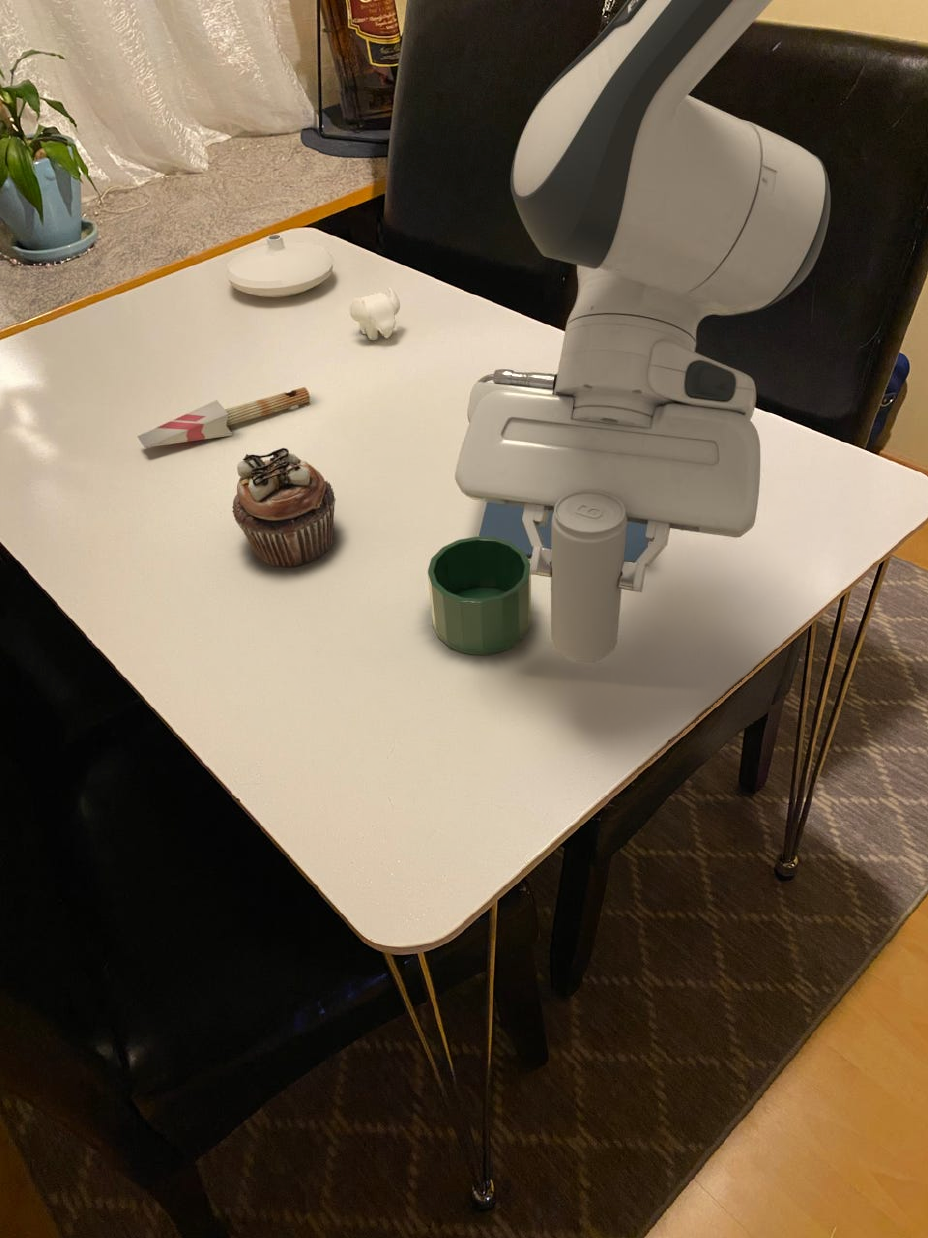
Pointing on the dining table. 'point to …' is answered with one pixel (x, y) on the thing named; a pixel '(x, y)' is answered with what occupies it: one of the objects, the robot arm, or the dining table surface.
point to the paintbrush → (218, 419)
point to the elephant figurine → (376, 313)
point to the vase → (279, 268)
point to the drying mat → (546, 530)
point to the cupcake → (284, 508)
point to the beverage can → (586, 574)
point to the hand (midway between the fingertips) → (585, 582)
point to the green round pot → (480, 595)
